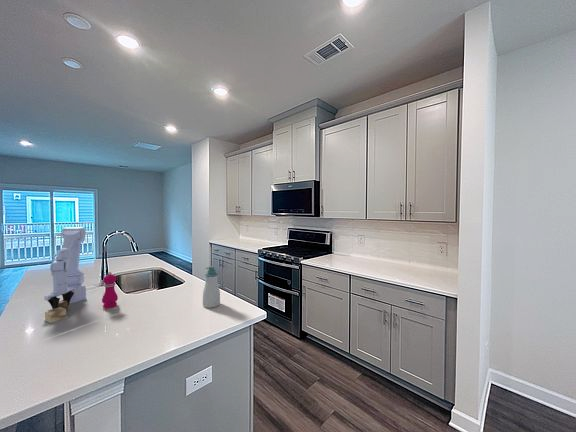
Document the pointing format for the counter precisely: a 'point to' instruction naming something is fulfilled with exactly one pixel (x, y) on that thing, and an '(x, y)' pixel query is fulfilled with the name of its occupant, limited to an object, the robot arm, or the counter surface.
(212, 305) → the soap bottle
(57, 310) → the oak base
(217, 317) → the counter surface
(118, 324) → the counter surface
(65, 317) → the slate mat
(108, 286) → the pepper mill
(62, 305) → the walnut block
